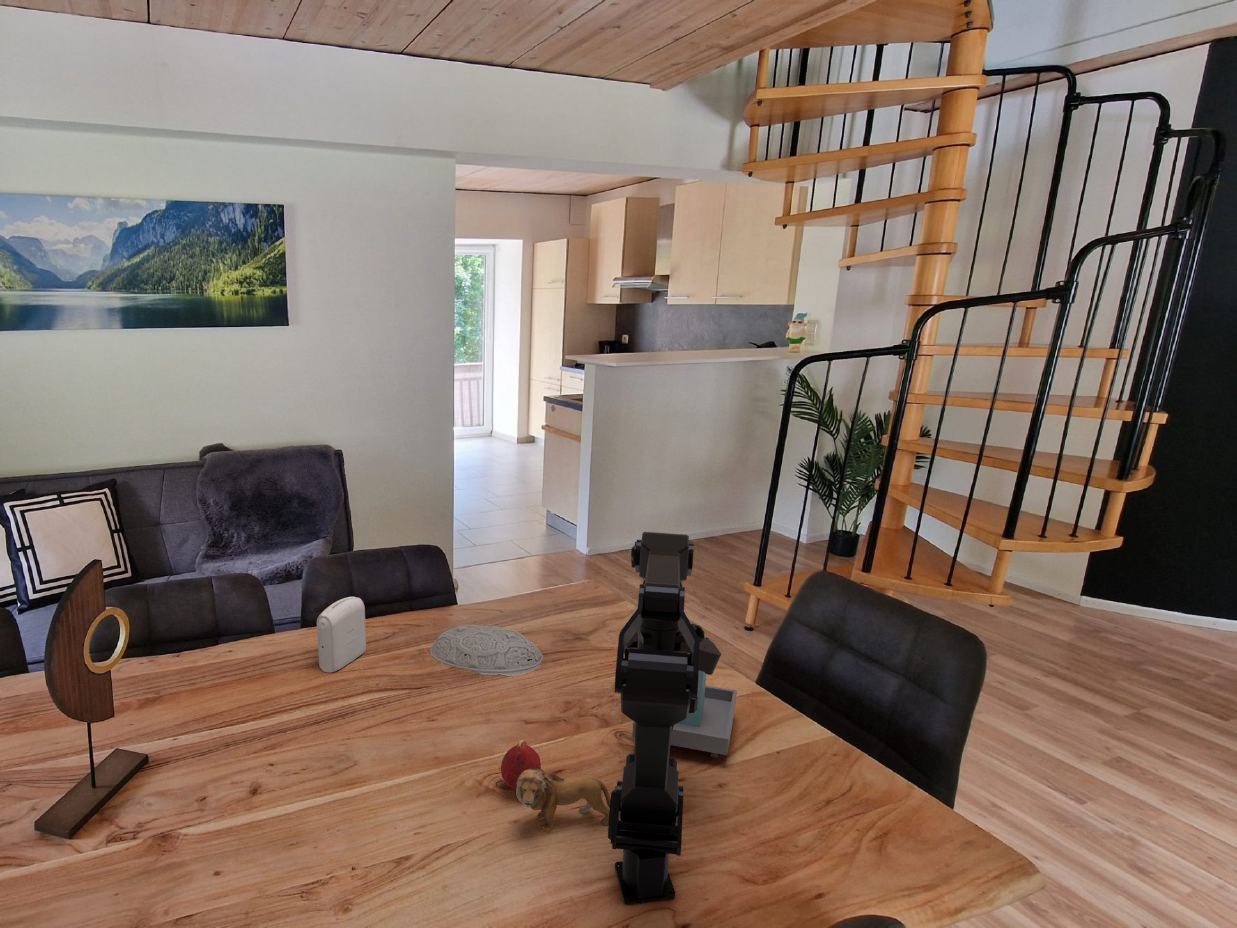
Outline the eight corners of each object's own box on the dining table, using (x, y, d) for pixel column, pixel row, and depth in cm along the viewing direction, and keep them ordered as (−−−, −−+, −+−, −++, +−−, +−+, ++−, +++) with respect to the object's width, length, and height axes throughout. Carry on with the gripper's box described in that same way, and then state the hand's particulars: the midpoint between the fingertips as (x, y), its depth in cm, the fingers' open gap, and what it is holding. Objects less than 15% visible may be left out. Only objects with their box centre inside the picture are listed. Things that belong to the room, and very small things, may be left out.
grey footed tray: (726, 766, 117) (728, 739, 116) (631, 748, 121) (633, 722, 120) (734, 714, 132) (737, 690, 131) (650, 700, 135) (651, 676, 134)
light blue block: (699, 727, 123) (703, 665, 120) (669, 721, 124) (673, 660, 121) (703, 711, 127) (708, 651, 125) (674, 706, 129) (678, 647, 126)
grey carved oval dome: (531, 681, 140) (531, 646, 139) (410, 667, 146) (409, 633, 145) (557, 652, 155) (558, 621, 154) (447, 640, 161) (446, 610, 160)
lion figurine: (519, 845, 99) (520, 786, 97) (511, 818, 104) (512, 761, 102) (623, 823, 104) (626, 766, 102) (610, 798, 109) (613, 744, 107)
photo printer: (334, 675, 140) (331, 613, 137) (315, 670, 141) (312, 609, 138) (369, 651, 149) (367, 593, 146) (352, 647, 150) (349, 589, 148)
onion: (533, 805, 107) (534, 756, 105) (494, 798, 108) (495, 749, 106) (545, 780, 113) (546, 733, 111) (508, 774, 114) (509, 727, 112)
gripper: (740, 651, 94) (730, 760, 98) (696, 592, 112) (689, 686, 116) (654, 655, 92) (648, 767, 96) (623, 595, 110) (619, 691, 114)
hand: (653, 724), depth 105 cm, fingers open, 9 cm apart
